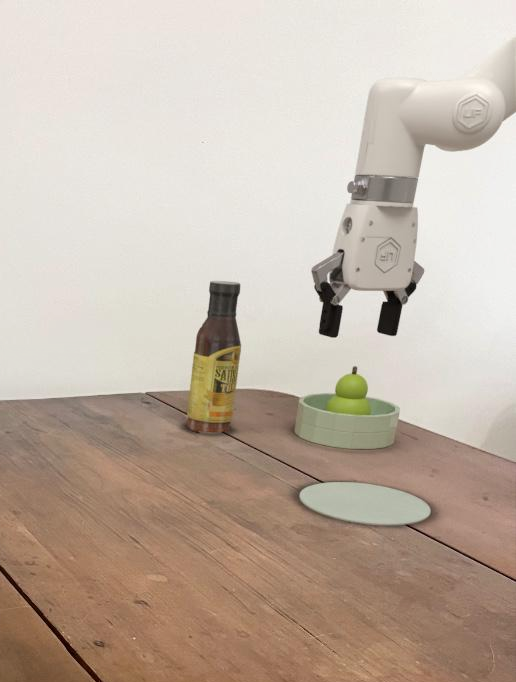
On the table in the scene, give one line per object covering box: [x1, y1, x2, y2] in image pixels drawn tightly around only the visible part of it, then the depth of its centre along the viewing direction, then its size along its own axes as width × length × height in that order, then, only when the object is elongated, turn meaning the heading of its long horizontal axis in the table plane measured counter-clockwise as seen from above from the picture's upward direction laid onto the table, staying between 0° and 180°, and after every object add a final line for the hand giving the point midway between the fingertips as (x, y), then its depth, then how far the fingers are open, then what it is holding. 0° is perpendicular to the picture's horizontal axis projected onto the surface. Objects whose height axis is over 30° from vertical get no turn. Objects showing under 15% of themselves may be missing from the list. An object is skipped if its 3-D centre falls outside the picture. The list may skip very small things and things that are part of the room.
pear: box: [325, 365, 371, 415], centre depth 124 cm, size 6×6×10 cm
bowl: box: [293, 392, 401, 450], centre depth 126 cm, size 13×13×5 cm
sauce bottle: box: [186, 280, 242, 434], centre depth 125 cm, size 7×6×20 cm
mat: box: [299, 481, 432, 526], centre depth 102 cm, size 14×14×1 cm
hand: (357, 335), depth 121 cm, fingers open, 9 cm apart
